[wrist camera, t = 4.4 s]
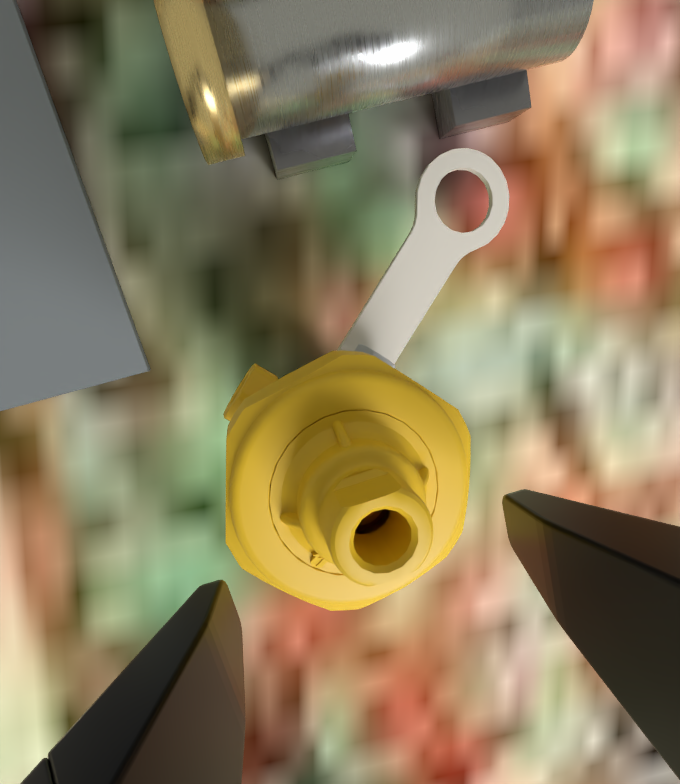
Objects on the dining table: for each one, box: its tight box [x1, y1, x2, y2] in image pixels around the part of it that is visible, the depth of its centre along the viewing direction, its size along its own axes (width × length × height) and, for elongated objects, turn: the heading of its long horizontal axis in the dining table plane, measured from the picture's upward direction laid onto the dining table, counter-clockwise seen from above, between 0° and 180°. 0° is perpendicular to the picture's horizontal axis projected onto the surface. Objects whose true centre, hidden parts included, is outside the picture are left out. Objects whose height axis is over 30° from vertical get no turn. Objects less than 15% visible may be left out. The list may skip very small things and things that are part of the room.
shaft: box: [154, 0, 593, 179], centre depth 13 cm, size 10×4×5 cm, turn 104°
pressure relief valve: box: [224, 148, 509, 611], centre depth 13 cm, size 6×12×10 cm, turn 147°
